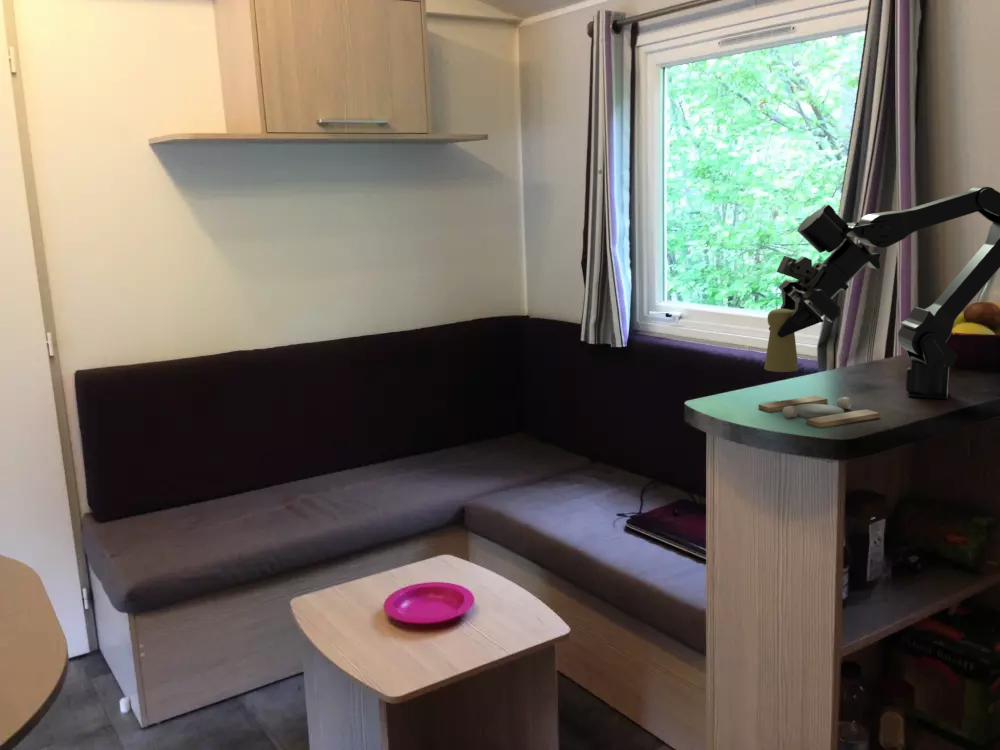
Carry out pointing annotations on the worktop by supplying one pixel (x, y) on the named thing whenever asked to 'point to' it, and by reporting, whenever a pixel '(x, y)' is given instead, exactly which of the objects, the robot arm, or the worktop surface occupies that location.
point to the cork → (780, 344)
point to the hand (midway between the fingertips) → (774, 333)
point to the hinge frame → (819, 411)
